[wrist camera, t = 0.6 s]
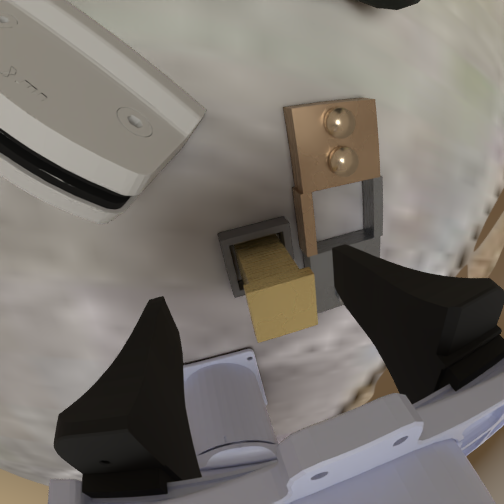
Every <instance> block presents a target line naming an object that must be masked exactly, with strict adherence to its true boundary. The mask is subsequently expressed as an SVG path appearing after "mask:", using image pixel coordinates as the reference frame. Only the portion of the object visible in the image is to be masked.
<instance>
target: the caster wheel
mask: <svg viewBox="0 0 504 504" xmlns="http://www.w3.org/2000/svg"><path fill="white" fill-rule="evenodd" d="M357 1H360V2H363V3H366V4H368V5H371V6H373V7H376V8H384V9H393V10H399V9H402V8H405V7H408V6H411V5H413V4H416V3H418V2H419V1H420V0H357Z"/></svg>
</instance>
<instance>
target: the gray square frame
mask: <svg viewBox="0 0 504 504" xmlns="http://www.w3.org/2000/svg"><path fill="white" fill-rule="evenodd" d="M275 233H279V234H280V241H281V243H282V244H283V246H284V247H285V248H286V250H287V251H288V253H289V254H290V256H291V257H292V259H293V260H294V256H293V248H292V241H291V233H290V226H289V222H288V221H287V220H286V219H285V217H280V218H276V219H272V220H268V221H264V222H260V223H256V224H252V225H249V226H245V227H241V228H237V229H233V230H230V231H226V232H222V233H218V237H219V241H220V245H221V249H222V253H223V257H224V260H225V264H226V268H227V272H228V276H229V280H230V283H231V287H232V291H233V294H234V297H235V298H236V297H240V296H243V295H245V291H244V287H243V285H244V283H243V280H242V281H237V277H236V273H235V269H234V265H233V261H232V256H231V252H230V248H229V246H230V245H234V244H237V243H241V242H245V241H249V240H252V239H256V238H260V237H264V236H267V235H271V234H275Z"/></svg>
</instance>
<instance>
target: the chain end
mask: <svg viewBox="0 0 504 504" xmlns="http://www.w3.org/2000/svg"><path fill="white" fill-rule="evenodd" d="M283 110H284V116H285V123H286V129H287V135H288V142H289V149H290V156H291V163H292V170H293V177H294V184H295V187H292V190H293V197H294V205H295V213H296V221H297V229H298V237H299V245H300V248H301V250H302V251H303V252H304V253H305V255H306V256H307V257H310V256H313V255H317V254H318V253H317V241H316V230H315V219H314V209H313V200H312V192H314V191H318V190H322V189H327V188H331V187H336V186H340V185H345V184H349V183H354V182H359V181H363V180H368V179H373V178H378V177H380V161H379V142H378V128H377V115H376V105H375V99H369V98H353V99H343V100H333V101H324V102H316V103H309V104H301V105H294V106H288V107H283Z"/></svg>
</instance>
